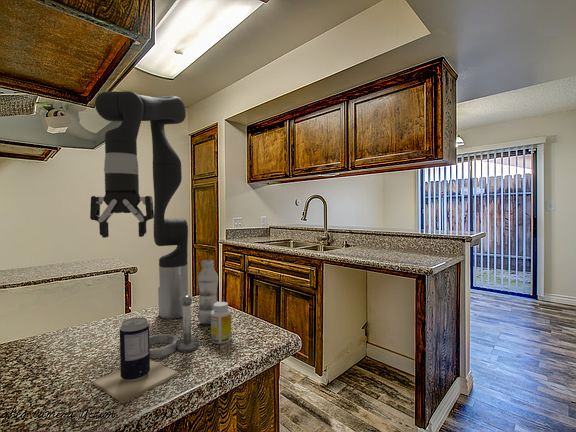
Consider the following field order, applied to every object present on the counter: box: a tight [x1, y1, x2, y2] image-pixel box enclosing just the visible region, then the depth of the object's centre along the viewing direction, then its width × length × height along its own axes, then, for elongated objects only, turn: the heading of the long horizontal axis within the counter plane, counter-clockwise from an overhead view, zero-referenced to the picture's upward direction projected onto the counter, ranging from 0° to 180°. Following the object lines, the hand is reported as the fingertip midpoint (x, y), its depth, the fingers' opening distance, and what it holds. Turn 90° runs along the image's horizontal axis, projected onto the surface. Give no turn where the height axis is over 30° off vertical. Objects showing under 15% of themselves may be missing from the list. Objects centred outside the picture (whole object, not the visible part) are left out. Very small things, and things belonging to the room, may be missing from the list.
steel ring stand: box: [149, 295, 200, 359], centre depth 81 cm, size 13×13×14 cm
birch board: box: [92, 359, 178, 405], centre depth 67 cm, size 12×12×1 cm
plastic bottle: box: [197, 259, 219, 325], centre depth 99 cm, size 6×7×20 cm
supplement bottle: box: [210, 301, 233, 345], centre depth 86 cm, size 6×6×10 cm
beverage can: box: [119, 316, 151, 382], centre depth 67 cm, size 6×6×12 cm
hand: (123, 236), depth 79 cm, fingers open, 8 cm apart
